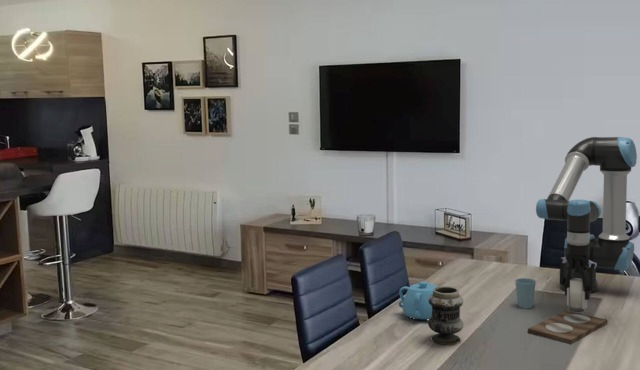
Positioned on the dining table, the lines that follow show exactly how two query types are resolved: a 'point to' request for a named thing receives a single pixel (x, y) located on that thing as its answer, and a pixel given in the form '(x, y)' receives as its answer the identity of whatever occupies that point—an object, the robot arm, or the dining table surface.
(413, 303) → the decorative pot
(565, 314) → the seat board
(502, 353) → the dining table surface
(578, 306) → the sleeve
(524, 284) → the cup
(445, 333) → the apothecary jar
